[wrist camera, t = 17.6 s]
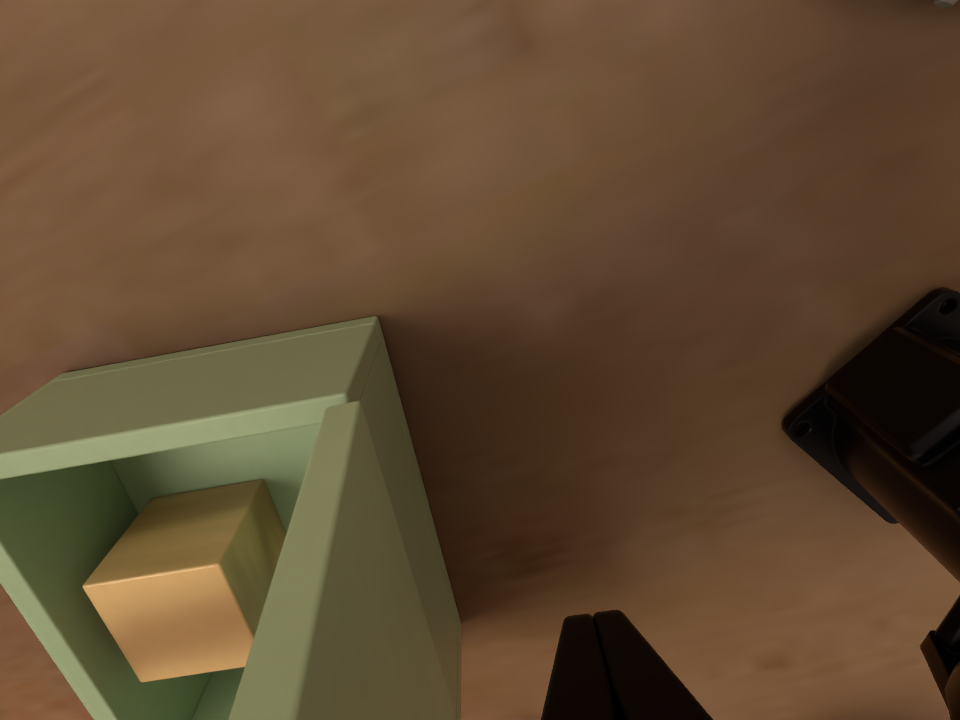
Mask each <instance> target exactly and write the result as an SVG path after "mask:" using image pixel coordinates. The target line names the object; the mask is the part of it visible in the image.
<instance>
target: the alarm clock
mask: <svg viewBox="0 0 960 720" xmlns="http://www.w3.org/2000/svg"><path fill="white" fill-rule="evenodd" d="M957 1H958V0H934V5H935V6H937V7H942V8H947V7H951V6H952V5H953V4H955V3H956V2H957Z"/></svg>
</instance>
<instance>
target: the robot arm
mask: <svg viewBox="0 0 960 720" xmlns="http://www.w3.org/2000/svg"><path fill="white" fill-rule="evenodd" d="M946 300H947V301H946ZM944 301H946V304H945V306H944V307H943V308H942V309H940V310H939V307H940V305H941V304H942V303H943V302H944ZM800 423H804V424H803V426H802V427H801V428H799V429H795V428H796V427H797V425H799V424H800ZM782 430H783V431H784V433H785V434H786V435H787V436H788V437H789V438H790V439H791V440H792V441H793V442H794V443H796V444H797V445H798V446H799V447H800V448H801V449H803V450H804V451H805V452H806V453H807V454H808V455H810V456H811V457H812V458H813V459H814V460H815V461H817V462H818V463H819V464H820V465H821V466H822V467H824V468H825V469H826V470H827V471H828V472H829V473H831V474H832V475H833V476H834V477H835V478H836V479H838V480H839V481H840V482H841V483H842V484H843V485H844V486H846V487H847V488H848V489H849V490H850V491H851V492H853V493H854V494H855V495H856V496H857V497H858V498H860V499H861V500H862V501H863V502H864V503H865V504H867V505H868V506H869V507H870V508H871V509H872V510H874V511H875V512H876V513H877V514H878V515H879V516H881V517H882V518H883V519H884V520H885V521H886V522H888V523H892V524H896V523H900V524H901V525H902V526H903V527H904V528H905V529H906V530H907V531H908V532H909V533H910V534H911V535H912V536H913V537H914V538H915V539H916V540H917V541H918V542H919V543H920V544H921V545H922V546H923V547H924V548H925V549H926V550H927V551H928V552H929V553H931V554H932V555H933V556H934V557H935V558H936V559H937V560H938V561H939V562H940V563H941V564H942V565H943V566H944V567H945V568H946V569H947V570H948V571H949V572H950V573H951V574H952V575H953V576H954V577H955V578H956V579H957V580H958V581H959V582H960V293H959V292H957V291H954V290H951V289H949V288H942V287H941V288H938V289H935V290H933V291H932V292H930V293H929V294H927V295H926V296H925V297H924V298H923V299H922V300H920V301H919V302H918V303H917V304H916V305H915V306H913V307H912V308H911V309H910V310H909V311H908V312H906V313H905V314H904V315H903V316H902V317H901V318H899V319H898V320H897V321H896V322H895V323H894V324H893V325H891V326H890V327H889V328H888V329H887V330H886V331H884V332H883V333H882V334H881V335H880V336H879V337H877V338H876V339H875V340H874V341H873V342H872V343H870V344H869V345H868V346H867V347H866V348H865V349H863V350H862V351H861V352H860V353H859V354H858V355H856V356H855V357H854V358H853V359H852V360H851V361H849V362H848V363H847V364H846V365H845V366H844V367H842V368H841V369H840V370H839V371H838V372H837V373H835V374H834V375H833V376H832V377H831V378H830V379H828V380H827V381H826V382H825V383H824V384H823V385H822V386H820V387H819V388H818V389H817V390H816V391H815V392H813V393H812V394H811V395H810V396H809V397H808V398H806V399H805V400H804V401H803V402H802V403H801V404H799V405H798V406H797V407H796V408H795V409H794V410H792V411H791V412H790V413H789V414H788V415H787V416H786V417H785V418H784V419H783V422H782ZM920 647H921V650H922V652H923V655H924V657H925V659H926V661H927V663H928V666H929V668H930V670H931V672H932V674H933V677H934V679H935V681H936V683H937V686H938V688H939V690H940V692H941V694H942V697H943V699H944V701H945V703H946V705H947V708H948V710H949V714H950V719H951V720H960V596H959V597H958V599H957V600H956V602H955V603H954V605H953V606H952V608H951V609H950V610H949V612H948V613H947V615H946V616H945V618H944V619H943V621H942V622H941V624H940V625H939V627H938V628H937V630H936V631H934V630H933V631H930V632H929V634H928V635H927V636H926V638H925V639H924V641H923V642H922V644H921V645H920ZM541 720H713V719H712V718H711V717H710V715H709V714H708V713H707V712H706V711H705V709H704V708H703V707H702V706H701V705H700V704H699V702H698V701H697V700H696V699H695V698H694V696H693V695H692V694H691V693H690V692H689V690H688V689H687V688H686V687H685V686H684V685H683V683H682V682H681V681H680V680H679V679H678V677H677V676H676V675H675V674H674V673H673V671H672V670H671V669H670V668H669V667H668V666H667V664H666V663H665V662H664V661H663V660H662V658H661V657H660V656H659V655H658V654H657V652H656V651H655V650H654V649H653V648H652V647H651V645H650V644H649V643H648V642H647V641H646V639H645V638H644V637H643V636H642V635H641V633H640V632H639V631H638V630H637V629H636V628H635V626H634V625H633V624H632V623H631V622H630V620H629V619H628V618H627V617H626V616H625V615H624V613H622V612H621V611H620V610H609V611H602V612H597V613H595V614H594V616H593V617H592V616H591V615H590V614H581V615H573V616H568V617H566V618H565V619H564V622H563V625H562V630H561V634H560V639H559V643H558V647H557V652H556V656H555V660H554V665H553V669H552V673H551V678H550V682H549V687H548V691H547V695H546V700H545V704H544V708H543V713H542V717H541Z"/></svg>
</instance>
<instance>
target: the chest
mask: <svg viewBox="0 0 960 720" xmlns="http://www.w3.org/2000/svg"><path fill="white" fill-rule="evenodd" d="M355 401H359V402H360V403H361V406H362V409H363V412H364V416H365V419H366V422H367V425H368V429H369V432H370V435H371V439H372V442H373V445H374V449H375V452H376V455H377V458H378V462H379V465H380V468H381V472H382V475H383V478H384V482H385V485H386V488H387V491H388V495H389V498H390V501H391V505H392V508H393V511H394V515H395V518H396V521H397V524H398V528H399V531H400V534H401V538H402V541H403V544H404V548H405V551H406V554H407V557H408V561H409V564H410V567H411V571H412V574H413V577H414V581H415V584H416V587H417V591H418V594H419V597H420V600H421V604H422V607H423V610H424V614H425V617H426V620H427V624H428V627H429V630H430V633H431V637H432V640H433V643H434V647H435V650H436V653H437V657H438V660H439V663H440V666H441V670H442V673H443V676H444V680H445V683H446V686H447V690H448V693H449V696H450V699H451V703H452V706H453V709H454V713H455V716H456V719H457V720H461V621H460V618H459V614H458V610H457V607H456V603H455V599H454V596H453V592H452V588H451V585H450V581H449V577H448V573H447V570H446V566H445V562H444V559H443V555H442V551H441V548H440V544H439V540H438V537H437V533H436V529H435V525H434V522H433V518H432V514H431V511H430V507H429V503H428V500H427V496H426V492H425V489H424V485H423V481H422V477H421V474H420V470H419V466H418V463H417V459H416V455H415V452H414V448H413V444H412V441H411V437H410V433H409V429H408V426H407V422H406V418H405V415H404V411H403V407H402V404H401V400H400V396H399V393H398V389H397V385H396V382H395V378H394V374H393V370H392V367H391V363H390V359H389V356H388V352H387V348H386V345H385V341H384V337H383V334H382V330H381V326H380V322H379V319H378V317H377V316H373V317H368V318H362V319H357V320H351V321H346V322H340V323H335V324H329V325H324V326H318V327H313V328H308V329H302V330H297V331H291V332H286V333H280V334H275V335H269V336H264V337H258V338H253V339H247V340H242V341H237V342H231V343H226V344H220V345H215V346H209V347H204V348H198V349H193V350H187V351H182V352H176V353H171V354H165V355H160V356H155V357H149V358H144V359H138V360H133V361H127V362H122V363H116V364H111V365H105V366H100V367H94V368H89V369H84V370H78V371H73V372H67V373H62V374H60V375H59V376H57V377H56V378H54V379H53V380H51V381H50V382H49V383H47V384H45V385H44V386H42V387H41V388H40V389H38V390H37V391H35V392H34V393H32V394H31V395H29V396H28V397H26V398H25V399H23V400H22V401H20V402H19V403H18V404H16V405H15V406H13V407H12V408H10V409H9V410H7V411H6V412H4V413H3V414H1V415H0V583H1V585H2V586H3V588H4V589H5V591H6V592H7V594H8V595H9V596H10V598H11V599H12V601H13V602H14V604H15V605H16V607H17V608H18V610H19V611H20V613H21V614H22V615H23V617H24V618H25V620H26V621H27V623H28V624H29V626H30V627H31V629H32V630H33V631H34V633H35V634H36V636H37V637H38V639H39V640H40V642H41V643H42V645H43V646H44V648H45V649H46V650H47V652H48V653H49V655H50V656H51V658H52V659H53V661H54V662H55V664H56V665H57V666H58V668H59V669H60V671H61V672H62V674H63V675H64V677H65V678H66V680H67V681H68V683H69V684H70V685H71V687H72V688H73V690H74V691H75V693H76V694H77V696H78V697H79V699H80V700H81V702H82V703H83V704H84V706H85V707H86V709H87V710H88V712H89V713H90V715H91V716H92V718H93V719H94V720H228V719H229V716H230V713H231V710H232V706H233V703H234V700H235V697H236V694H237V690H238V687H239V684H240V681H241V678H242V674H243V671H244V668H245V667H241V668H234V669H227V670H221V671H214V672H208V673H201V674H195V675H188V676H182V677H175V678H169V679H162V680H155V681H149V682H140V680H139V679H138V677H137V675H136V674H135V672H134V670H133V669H132V667H131V666H130V664H129V662H128V661H127V659H126V657H125V656H124V654H123V652H122V651H121V649H120V648H119V646H118V644H117V643H116V641H115V639H114V638H113V636H112V635H111V633H110V631H109V630H108V628H107V626H106V625H105V623H104V622H103V620H102V618H101V617H100V615H99V613H98V612H97V610H96V608H95V607H94V605H93V604H92V602H91V600H90V599H89V597H88V595H87V594H86V592H85V591H84V589H83V584H84V583H85V582H86V581H87V579H88V578H89V577H90V576H91V574H92V573H93V572H94V570H95V569H96V568H97V567H98V565H99V564H100V563H101V562H102V560H103V559H104V558H105V556H106V555H107V554H108V553H109V551H110V550H111V549H112V548H113V546H114V545H115V544H116V542H117V541H118V540H119V539H120V537H121V536H122V535H123V534H124V532H125V531H126V530H127V528H128V527H129V526H130V525H131V523H132V522H133V521H134V520H135V518H136V517H137V516H138V514H139V513H140V512H141V511H142V509H143V508H144V507H145V506H146V504H147V503H148V502H149V500H150V499H151V498H154V497H160V496H166V495H172V494H178V493H183V492H189V491H195V490H201V489H207V488H213V487H219V486H224V485H230V484H236V483H242V482H248V481H254V480H260V479H264V480H265V483H266V485H267V488H268V490H269V493H270V495H271V497H272V500H273V502H274V505H275V507H276V510H277V512H278V515H279V517H280V520H281V522H282V525H283V527H284V530H285V532H286V534H287V531H288V527H289V524H290V521H291V518H292V515H293V511H294V508H295V505H296V502H297V499H298V495H299V492H300V489H301V486H302V483H303V479H304V476H305V473H306V470H307V467H308V463H309V460H310V457H311V454H312V451H313V447H314V444H315V441H316V438H317V435H318V431H319V428H320V425H321V422H322V419H323V415H324V412H325V409H326V408H328V407H331V406H335V405H340V404H345V403H350V402H355Z"/></svg>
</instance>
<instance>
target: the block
mask: <svg viewBox="0 0 960 720" xmlns="http://www.w3.org/2000/svg"><path fill="white" fill-rule="evenodd" d="M285 537H286V532H285V530H284V527H283V525H282V522H281V520H280V517H279V515H278V512H277V510H276V507H275V505H274V502H273V500H272V497H271V495H270V493H269V490H268V488H267V485H266V483H265V480H264V479H260V480H254V481H248V482H242V483H236V484H230V485H224V486H219V487H213V488H207V489H201V490H195V491H189V492H183V493H178V494H172V495H166V496H160V497H154V498H151V499H150V500H149V502H148V503H147V504H146V506H145V507H144V508H143V509H142V511H141V512H140V513H139V514H138V516H137V517H136V518H135V520H134V521H133V522H132V523H131V525H130V526H129V527H128V528H127V530H126V531H125V532H124V534H123V535H122V536H121V537H120V539H119V540H118V541H117V542H116V544H115V545H114V546H113V548H112V549H111V550H110V551H109V553H108V554H107V555H106V556H105V558H104V559H103V560H102V562H101V563H100V564H99V565H98V567H97V568H96V569H95V570H94V572H93V573H92V574H91V576H90V577H89V578H88V579H87V581H86V582H85V583H84V584H83V589H84V591H85V592H86V594H87V595H88V597H89V599H90V600H91V602H92V604H93V605H94V607H95V608H96V610H97V612H98V613H99V615H100V617H101V618H102V620H103V622H104V623H105V625H106V626H107V628H108V630H109V631H110V633H111V635H112V636H113V638H114V639H115V641H116V643H117V644H118V646H119V648H120V649H121V651H122V652H123V654H124V656H125V657H126V659H127V661H128V662H129V664H130V666H131V667H132V669H133V670H134V672H135V674H136V675H137V677H138V679H139V680H140V682H149V681H155V680H162V679H169V678H175V677H182V676H188V675H195V674H201V673H208V672H214V671H221V670H227V669H234V668H241V667H245V665H246V662H247V658H248V655H249V652H250V649H251V646H252V642H253V639H254V636H255V633H256V630H257V626H258V623H259V620H260V617H261V614H262V610H263V607H264V604H265V601H266V598H267V595H268V591H269V588H270V585H271V582H272V579H273V575H274V572H275V569H276V566H277V563H278V559H279V556H280V553H281V550H282V547H283V543H284V540H285Z"/></svg>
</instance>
